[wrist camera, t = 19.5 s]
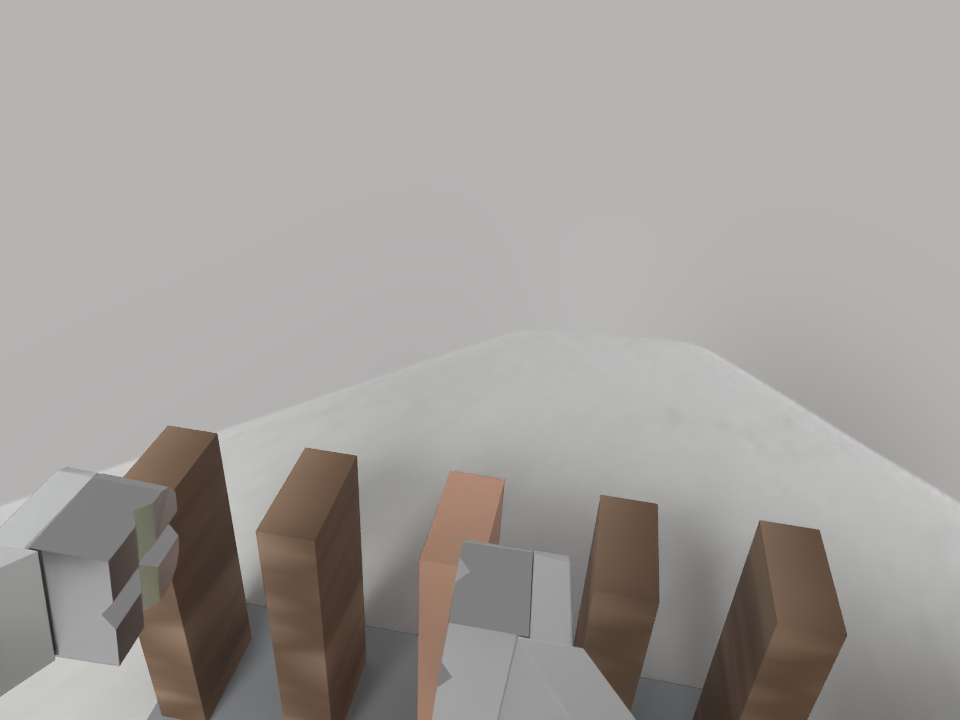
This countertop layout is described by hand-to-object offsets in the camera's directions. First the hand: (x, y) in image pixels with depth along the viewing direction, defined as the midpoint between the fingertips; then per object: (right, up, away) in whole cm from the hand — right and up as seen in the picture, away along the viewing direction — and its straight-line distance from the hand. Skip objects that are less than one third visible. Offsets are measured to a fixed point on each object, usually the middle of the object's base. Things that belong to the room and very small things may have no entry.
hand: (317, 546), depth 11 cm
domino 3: (+1, -13, +22) cm, 25 cm away
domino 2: (-4, -12, +23) cm, 26 cm away
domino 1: (-10, -11, +23) cm, 28 cm away
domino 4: (+7, -14, +21) cm, 26 cm away
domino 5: (+12, -14, +20) cm, 28 cm away
